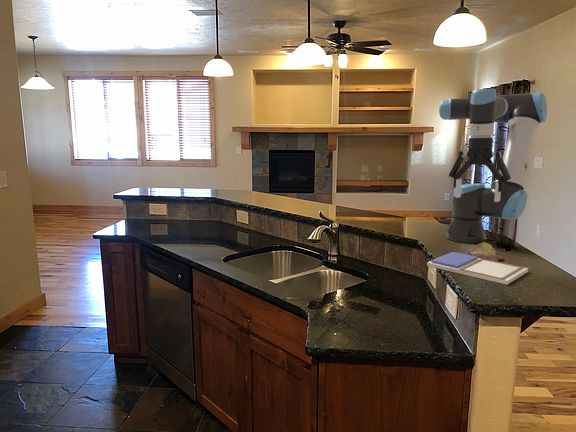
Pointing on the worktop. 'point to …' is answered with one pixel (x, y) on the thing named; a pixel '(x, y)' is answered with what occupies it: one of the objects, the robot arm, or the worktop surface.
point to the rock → (485, 252)
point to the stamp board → (478, 267)
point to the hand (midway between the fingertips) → (477, 199)
